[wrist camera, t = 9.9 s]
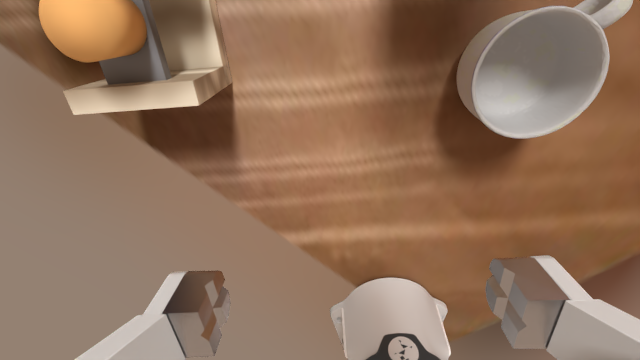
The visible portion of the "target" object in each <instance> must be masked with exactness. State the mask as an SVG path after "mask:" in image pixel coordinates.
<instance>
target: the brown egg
mask: <svg viewBox="0 0 640 360" xmlns="http://www.w3.org/2000/svg"><path fill="white" fill-rule="evenodd" d="M39 18H40V22H41V25H42V27H43V30H44V32H45V34H46V35H47V37H48V38H49V40H50V41H51V42H52V43H53V45H54V46H55V47H56V48H57V49H58V50H60V51H61V52H62V53H63V54H65V55H66V56H68V57H70V58H72V59H74V60H77V61H81V62H96V61H101V60H106V59H111V58H117V57H122V56H127V55H132V54H135V53H137V52H138V51H139V50H141V48H142V47H143V46H144V44H145V41H146V37H147V27H146V23H145V20H144V17H143V15H142V13H141V11H140V10H139V8H138V7H137V5H136V4H135V3H134V2H133V1H132V0H40V3H39Z"/></svg>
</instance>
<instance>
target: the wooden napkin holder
mask: <svg viewBox="0 0 640 360" xmlns="http://www.w3.org/2000/svg"><path fill="white" fill-rule="evenodd" d="M132 1H133V2H134V3H135V4H136V5H137V7H138V8H139V10H140V11H141V13H142V15H143V17H144V20H145V23H146V27H147V37H146V41H145V44H144V46H143V47H142V48H141V50H139V51H138V52H137V53H135V54H132V55H127V56H122V57H117V58H111V59H106V60H101V61H99V63H100V65H101V68H102V71H103V73H104V76H105V78H106V79H104V80H100V81H97V82H93V83H89V84H86V85H82V86H79V87H75V88H72V89H68V90H65V91H63V92H64V95H65V97H66V99H67V101H68V103H69V105H70V108H71V110H72V112H73V114H74V115H78V114H92V113H105V112H119V111H132V110H146V109H160V108H173V107H187V106H199V105H201V104H202V103H204V102H205V101H206V100H208V99H209V98H211V97H212V96H214V95H215V94H217V93H218V92H219V91H221V90H222V89H224V88H225V87H227V86H228V85H230V84H231V83H232V79H231V74H230V69H229V64H228V59H227V54H226V49H225V45H224V40H223V35H222V30H221V25H220V20H219V15H218V10H217V6H216V1H215V0H132Z"/></svg>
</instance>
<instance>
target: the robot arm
mask: <svg viewBox="0 0 640 360" xmlns="http://www.w3.org/2000/svg"><path fill="white" fill-rule="evenodd" d="M489 269H490V271H491V272H492V274H493V275H492V276H491V277H490V278H489V279H488V280H487V283H486V297H487V301H488V304H489V306H490V308H491V310H492V312H493V313H494V314H495V315H496V316H498V317H499V318H501V319H502V320H503V321H502V325H501V328H502V330H503V331H504V333H505V335H506V336H507V338H508V340H509V342H510V344H511V346H512V347H513V349H547V351H548V352H549V353H550V354H551V355H553V356H554V357H555V358H556V359H558V360H640V320H639V319H637V318H635V317H633V316H631V315H629V314H627V313H625V312H623V311H621V310H619V309H617V308H615V307H613V306H611V305H609V304H607V303H606V302H604V301H602V300H600V299H598V300H593V299H592V298H591V297H590V296H589V295H588V294H587V293H586V291H585V290H584V289H583V288H582V287H581V286H580V285H579V284H578V283H577V282H576V281H575V280H574V279H573V278H572V277H571V276H570V275H569V274H568V273H567V271H566V270H565V269H564V268H563V267H562V266H561V265H560V264H559V263H558V262H557V261H556V260H555V259H554V258H553V257H551V256H549V255H547V256H530V257H515V258H495V259H493V260H492V261H491V264H490V268H489ZM224 280H225V279H224V276H223V273H222V272H221V271H188V272H172V273H171V274H169V275H168V277H167V278H166V280H165V281H164V283H163V284H162V286H161V288H160V289H159V291H158V292H157V294H156V295H155V297H154V298H153V300H152V301H151V303H150V305H149V306H148V308H147V309H146V311H145V312H144V314H143V315H137V316H136V317H135V318H133V319H132V320H130V321H129V322H128V323H126V324H125V325H123V326H122V327H121V328H119V329H118V330H116V331H115V332H113V333H112V334H110V335H109V336H108V337H106V338H105V339H103V340H102V341H100V342H99V343H98V344H96V345H95V346H93V347H92V348H91V349H89V350H88V351H86V352H85V353H83V354H82V355H81V356H79V357H78V358H76V359H75V360H186V358H189V357H208V356H215V353H216V350H217V347H218V345H219V342H220V339H221V336H222V334H221V331H220V327H222V326H223V324H225V323H226V322H227V319H228V316H229V311H230V296H229V292H228V290H227V289H226V288H224V287H223V283H224ZM446 314H447V307H446V304H445V303H443V302H442V301H440V300H437V299H435V298H433V297H432V296H431V295H430V294H429V293H428V292H427V291H426V290H425V289H424V288H423V287H422V286H420V285H419V284H417V283H415V282H412V281H410V280H406V279H401V278H381V279H376V280H372V281H369V282H367V283H364V284H362V285H360V286H359V287H357V288H356V289H355V290H353V291H352V292H351V293H350V294H349V296H348V297H347V298H346V299H345V300H344V301H342V302H340V303H338V304H336V305H334V306H333V307H332V308H331V309H330V315H331V318H332V321H333V323H334V326H335V329H336V331H337V334H338V336H339V339H340V341H341V344H342V346H343V349H344V354H345V357H346V358H347V359H348V360H448V358H449V356H450V355H451V350H450V346H449V343H448V340H447V336H446V333H445V330H444V326H443V321H444V319H445V316H446Z"/></svg>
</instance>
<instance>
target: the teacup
mask: <svg viewBox="0 0 640 360" xmlns="http://www.w3.org/2000/svg"><path fill="white" fill-rule="evenodd" d="M632 3H633V0H585V1H583V2H582V3H580V4H578V5H577V6H575V7H574V8H571V7H566V6H548V7H543V8H539V9H536V10H528V11H522V12H517V13H513V14H510V15H507V16H504V17H502V18H500V19H497V20H495V21H494V22H492V23H490V24H489V25H487V26H486V27H485V28H483V29H482V30H481V31H480V32H479V33H478V34H477V35H476V36H475V37H474V38H473V39H472V40H471V41H470V43H469V44H468V46H467V47H466V49H465V51H464V52H463V54H462V57H461V59H460V62H459V65H458V69H457V89H458V93H459V96H460V98H461V100H462V102H463V104H464V105H465V106H466V108H467V109H468V110H469V111H470V112H471V113H472V114H473V115H474V116H475V117H477V118H478V119H479V120H480V121H482V123H483V124H484V125H485V126H486V127H488V128H489V129H490V130H492V131H493V132H495V133H497V134H499V135H502V136H505V137H509V138H519V139H523V138H534V137H539V136H543V135H546V134H549V133H551V132H554V131H556V130H558V129H560V128H562V127H564V126H565V125H567V124H569V123H570V122H572V121H573V120H574V119H575V118H576V117H578V116H579V115H580V114H581V113H582V112H583V111H584V110H585V109H586V108H587V107H588V106H589V105H590V104H591V102H592V101H593V100H594V99H595V97H596V96H597V94H598V93H599V91H600V89H601V87H602V85H603V83H604V80H605V78H606V74H607V71H608V65H609V48H608V43H607V39H606V36H605V34H604V31H603V30H602V29H604V28H606V27H608V26H609V25H611V24H613V23H614V22H616V21H617V20H618V19H620V18H621V17H622V16H624V15H625V14H626V13H627V11H628V10H629V9H630V8H631V6H632Z"/></svg>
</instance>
